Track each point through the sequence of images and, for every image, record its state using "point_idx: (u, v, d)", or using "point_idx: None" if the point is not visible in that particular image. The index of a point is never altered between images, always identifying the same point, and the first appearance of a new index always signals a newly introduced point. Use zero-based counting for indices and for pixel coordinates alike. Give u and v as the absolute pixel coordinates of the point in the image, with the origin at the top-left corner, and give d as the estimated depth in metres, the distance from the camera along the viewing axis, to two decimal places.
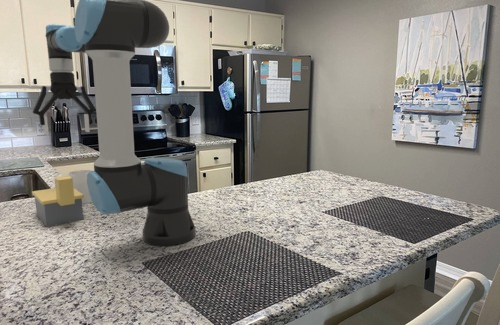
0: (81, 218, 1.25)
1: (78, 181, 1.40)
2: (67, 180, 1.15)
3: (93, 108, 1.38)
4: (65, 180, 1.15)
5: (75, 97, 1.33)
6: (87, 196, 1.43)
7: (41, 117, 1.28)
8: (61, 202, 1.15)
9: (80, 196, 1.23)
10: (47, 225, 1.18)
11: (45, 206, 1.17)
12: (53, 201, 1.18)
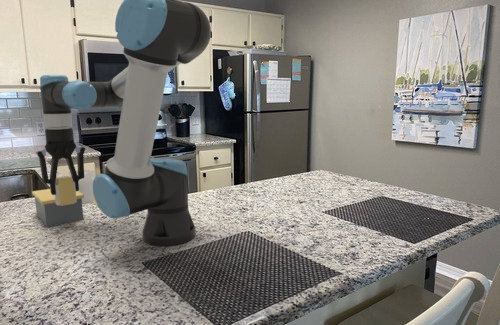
0: (81, 218, 1.25)
1: (78, 181, 1.40)
2: (67, 180, 1.15)
3: (82, 174, 1.18)
4: (65, 180, 1.15)
5: (70, 158, 1.15)
6: (87, 196, 1.43)
7: (52, 186, 1.14)
8: (61, 202, 1.15)
9: (80, 196, 1.23)
10: (47, 225, 1.18)
11: (45, 206, 1.17)
12: (53, 201, 1.18)
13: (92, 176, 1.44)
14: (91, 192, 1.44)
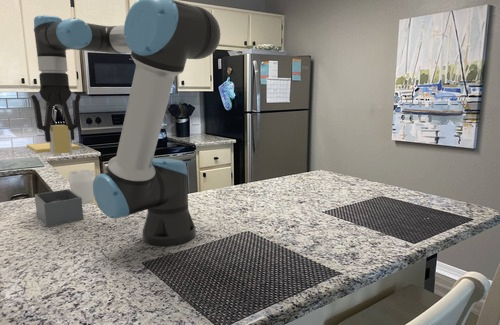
0: (81, 218, 1.25)
1: (78, 181, 1.40)
2: (62, 127, 1.12)
3: (77, 122, 1.15)
4: (60, 127, 1.12)
5: (65, 105, 1.12)
6: (87, 196, 1.43)
7: (47, 133, 1.11)
8: (56, 150, 1.12)
9: (76, 147, 1.20)
10: (47, 225, 1.18)
11: (45, 206, 1.17)
12: (48, 150, 1.15)
13: (92, 176, 1.44)
14: (91, 192, 1.44)
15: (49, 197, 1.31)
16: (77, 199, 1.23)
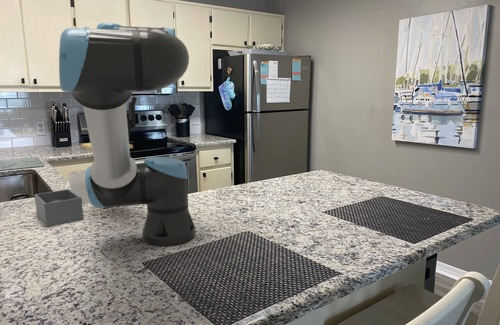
0: (81, 218, 1.25)
1: (78, 181, 1.40)
2: None
3: (133, 123, 1.22)
4: None
5: None
6: (87, 196, 1.43)
7: None
8: None
9: (129, 146, 1.27)
10: (47, 225, 1.18)
11: (45, 206, 1.17)
12: None
13: None
14: None
15: (49, 197, 1.31)
16: (77, 199, 1.23)
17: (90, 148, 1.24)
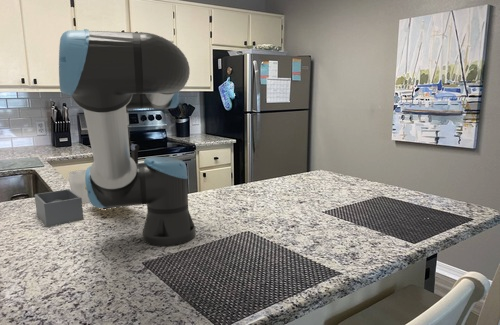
0: (81, 218, 1.25)
1: (78, 181, 1.40)
2: None
3: None
4: None
5: None
6: (87, 196, 1.43)
7: None
8: None
9: None
10: (47, 225, 1.18)
11: (45, 206, 1.17)
12: None
13: None
14: None
15: (49, 197, 1.31)
16: (77, 199, 1.23)
17: None
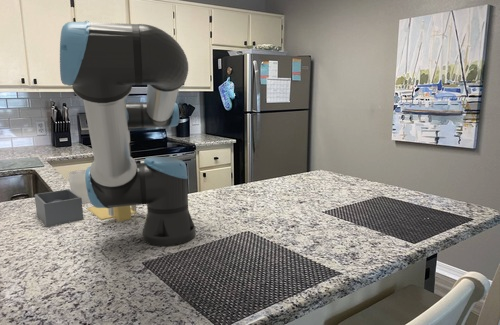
0: (81, 218, 1.25)
1: (78, 181, 1.40)
2: None
3: None
4: None
5: None
6: (87, 196, 1.43)
7: None
8: (119, 219, 1.23)
9: None
10: (47, 225, 1.18)
11: (45, 206, 1.17)
12: None
13: None
14: None
15: (49, 197, 1.31)
16: (77, 199, 1.23)
17: None
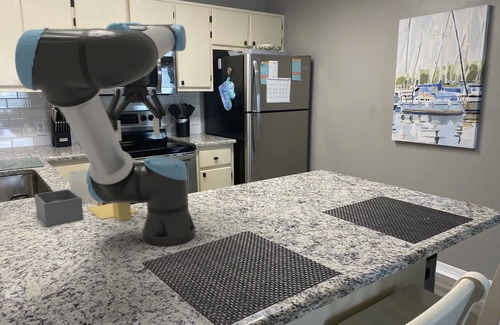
0: (81, 218, 1.25)
1: (78, 181, 1.40)
2: None
3: (163, 112, 1.30)
4: None
5: (147, 100, 1.25)
6: (87, 196, 1.43)
7: (114, 122, 1.19)
8: (119, 219, 1.23)
9: None
10: (47, 225, 1.18)
11: (45, 206, 1.17)
12: None
13: None
14: None
15: (49, 197, 1.31)
16: (77, 199, 1.23)
17: None
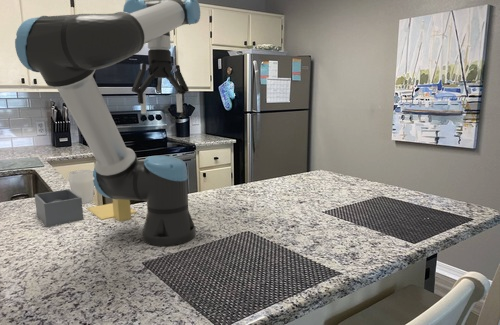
0: (81, 218, 1.25)
1: (78, 181, 1.40)
2: None
3: (186, 88, 1.35)
4: (123, 199, 1.23)
5: (171, 76, 1.30)
6: (87, 196, 1.43)
7: (140, 95, 1.25)
8: (119, 219, 1.23)
9: None
10: (47, 225, 1.18)
11: (45, 206, 1.17)
12: None
13: (92, 176, 1.44)
14: (91, 192, 1.44)
15: (49, 197, 1.31)
16: (77, 199, 1.23)
17: None
